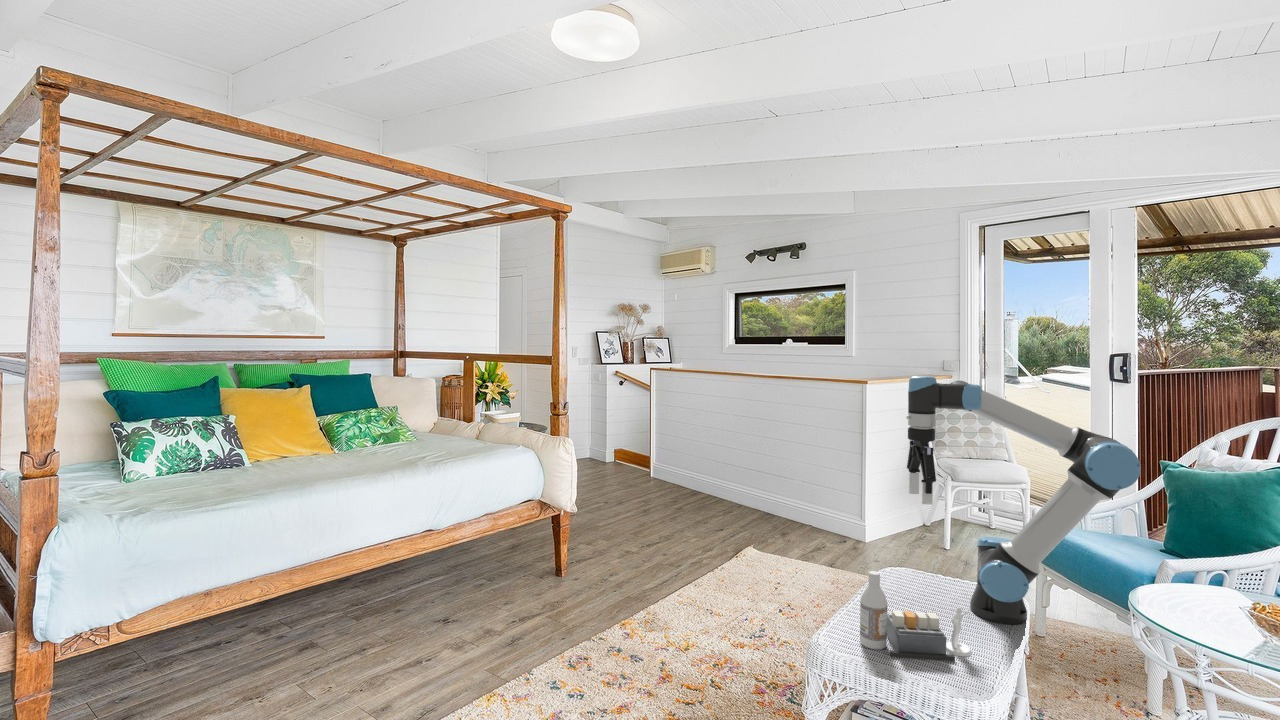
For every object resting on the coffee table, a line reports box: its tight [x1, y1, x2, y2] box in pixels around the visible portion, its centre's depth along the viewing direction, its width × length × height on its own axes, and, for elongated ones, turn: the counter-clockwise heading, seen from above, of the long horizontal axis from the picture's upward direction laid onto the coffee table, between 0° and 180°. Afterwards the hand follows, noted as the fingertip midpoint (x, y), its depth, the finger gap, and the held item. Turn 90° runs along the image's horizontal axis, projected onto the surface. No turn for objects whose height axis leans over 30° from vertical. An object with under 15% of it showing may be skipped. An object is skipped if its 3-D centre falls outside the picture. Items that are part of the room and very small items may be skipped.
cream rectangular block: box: [925, 612, 940, 630], centre depth 166 cm, size 2×4×3 cm, turn 172°
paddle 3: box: [914, 611, 928, 629], centre depth 167 cm, size 2×4×3 cm, turn 172°
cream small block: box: [891, 610, 904, 627], centre depth 167 cm, size 2×4×3 cm, turn 172°
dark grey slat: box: [889, 649, 956, 662], centre depth 161 cm, size 16×1×1 cm, turn 82°
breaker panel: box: [887, 613, 947, 655], centre depth 167 cm, size 12×12×7 cm
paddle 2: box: [903, 610, 916, 628], centre depth 167 cm, size 2×4×3 cm, turn 172°
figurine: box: [946, 606, 973, 657], centre depth 165 cm, size 7×7×12 cm
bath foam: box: [859, 570, 888, 650], centre depth 168 cm, size 7×7×20 cm
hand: (920, 498), depth 184 cm, fingers open, 11 cm apart
